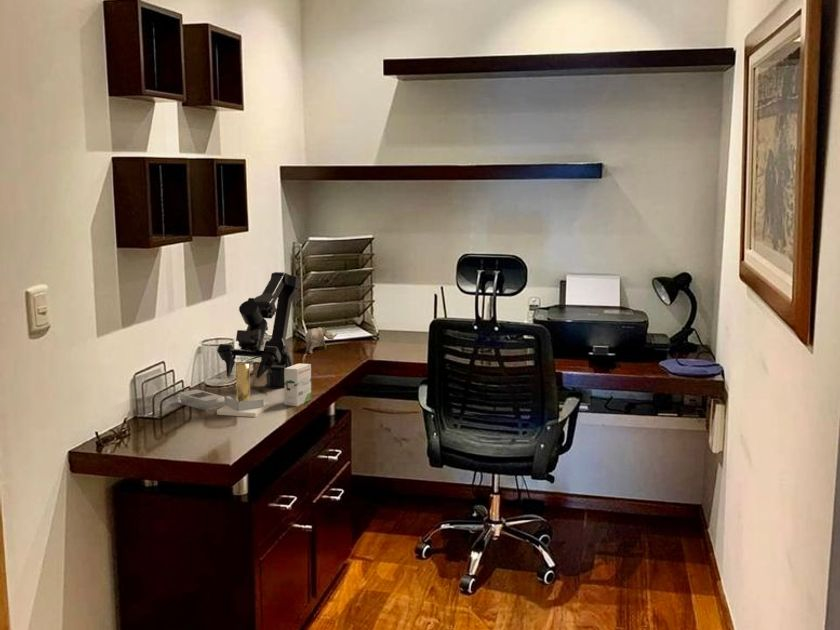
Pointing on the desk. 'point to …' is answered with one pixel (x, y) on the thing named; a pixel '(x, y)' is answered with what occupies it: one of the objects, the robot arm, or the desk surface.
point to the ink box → (297, 384)
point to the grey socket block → (202, 399)
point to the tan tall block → (243, 381)
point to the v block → (243, 407)
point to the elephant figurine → (317, 338)
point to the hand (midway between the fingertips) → (242, 377)
